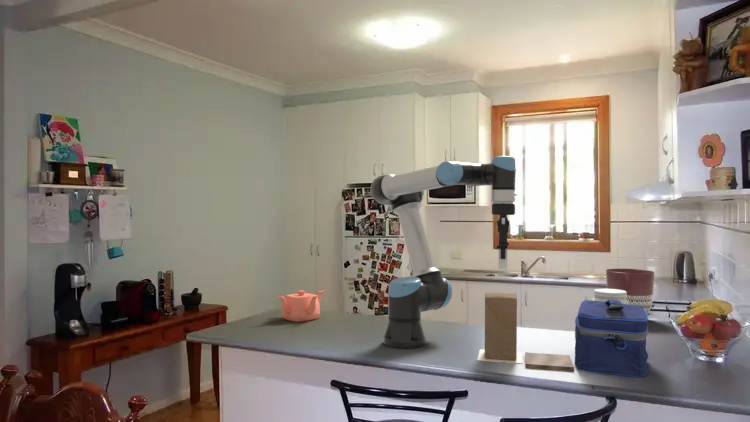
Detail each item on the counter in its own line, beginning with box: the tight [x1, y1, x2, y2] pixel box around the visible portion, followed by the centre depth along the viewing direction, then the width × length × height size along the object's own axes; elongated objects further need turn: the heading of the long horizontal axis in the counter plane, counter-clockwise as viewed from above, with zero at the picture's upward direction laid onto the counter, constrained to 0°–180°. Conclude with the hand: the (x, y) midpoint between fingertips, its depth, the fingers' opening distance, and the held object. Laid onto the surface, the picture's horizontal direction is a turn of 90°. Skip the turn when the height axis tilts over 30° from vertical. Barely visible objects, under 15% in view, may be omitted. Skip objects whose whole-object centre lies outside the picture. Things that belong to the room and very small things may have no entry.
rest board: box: [524, 351, 575, 372], centre depth 174 cm, size 14×14×1 cm
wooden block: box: [484, 292, 518, 360], centre depth 182 cm, size 10×10×20 cm
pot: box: [277, 289, 325, 323], centre depth 242 cm, size 18×17×12 cm
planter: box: [605, 268, 655, 315], centre depth 244 cm, size 20×20×21 cm
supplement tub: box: [591, 288, 629, 305], centre depth 206 cm, size 13×13×18 cm
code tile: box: [477, 348, 523, 365], centre depth 182 cm, size 14×14×1 cm
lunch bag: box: [574, 299, 649, 378], centre depth 173 cm, size 31×21×20 cm
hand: (502, 267), depth 183 cm, fingers open, 13 cm apart
